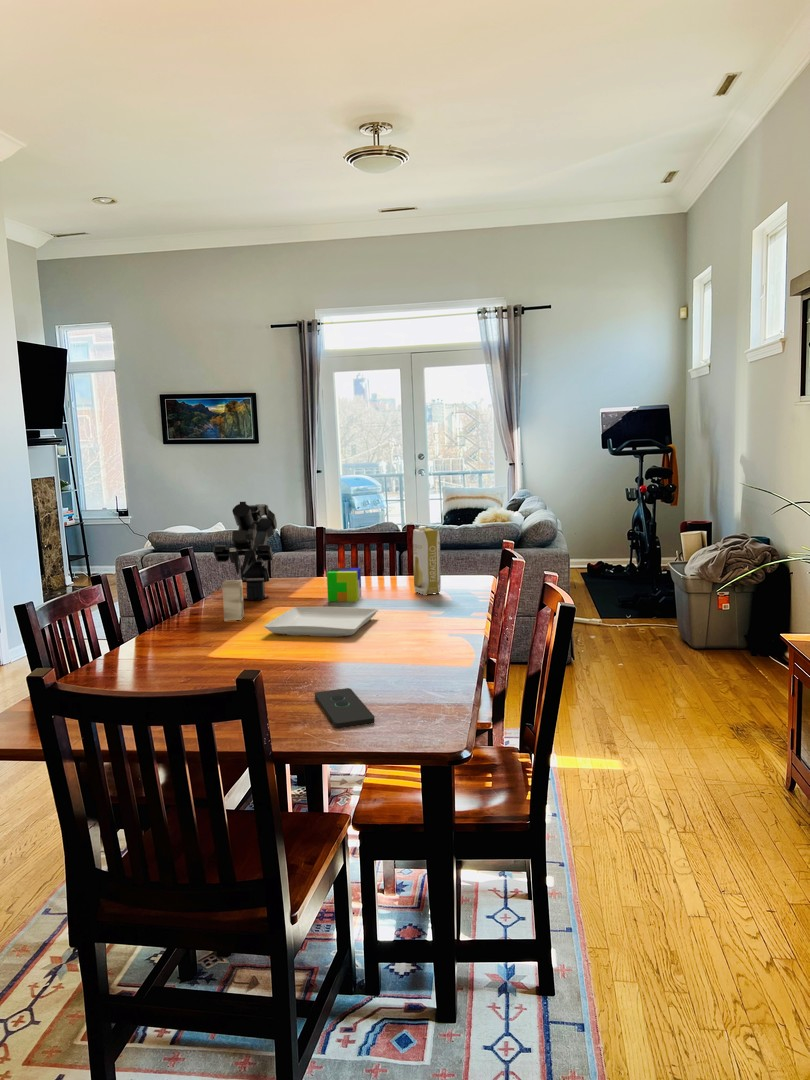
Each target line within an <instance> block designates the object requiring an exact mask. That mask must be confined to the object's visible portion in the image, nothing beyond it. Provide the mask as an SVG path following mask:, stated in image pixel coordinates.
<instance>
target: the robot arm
mask: <svg viewBox="0 0 810 1080" xmlns="http://www.w3.org/2000/svg"><path fill="white" fill-rule="evenodd" d="M232 515H233V518H234V520H235V524H236V526H237V527H238V529H237V530H232V534H231V541H232V542H233V544H232V545H233V547H230V548H229V549H228V547H227V545H226V544H225V545H215V546H214V547H213V549H212V553H213V555H214V557H215V561H216V562H217V563H222V562H225V563H227V562H228V561H229V560H230V563H232V564H234V567H235V571H236V575H237V576H238V575H239V574H240V577H241V580H242V584H243V583H246V587H245V588H246V596H245V597H243V600H244V599H248V600H247V601H256V600H259V601H261V600H260V599H262V600H264V599H263V598H265V599H267V598H266V597H268V598H269V595H266V592H265V591H266V590H265V583H267V582H269V581H270V575H269V571H268V568H267V565H266V563H265V562H267V561H269V562H271V561H273V560H274V559H273V558H274V553H273V548H272V545H270V544H268V541H269V538H270V537H272V536H274V534H275V531H276V530H277V526H278V525H277V524H278V523H277V518H276V514H275V513H273V511H271V510H270V509H269V506H268V504H266V503H265V504H263V503H261V504H250V505H249V504H247V501H239V504H237V505H235V506H234V507H233V508H232ZM263 516H265V517H263ZM240 557H244V558H243V561H242V564H241V559H240Z"/></svg>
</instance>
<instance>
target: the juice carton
mask: <svg viewBox="0 0 810 1080" xmlns="http://www.w3.org/2000/svg"><path fill="white" fill-rule="evenodd" d="M412 532H413V533H412V556H413V559H412V560H413V561H412V562H413V585H414V586H413V587H414V592H415V593H416V592H418V593H417V594H419V593H420V595H422V594H423V595H422V596H427V595H426V594H433V593H439V592H440V593H441V587H442V584H441V583H442V582H441V580H442V579H441V537H440V531H439V529H433V528H429V527H427V526H426V525H420V526H418V528H415V529H413V531H412Z"/></svg>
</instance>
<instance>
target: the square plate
mask: <svg viewBox="0 0 810 1080" xmlns="http://www.w3.org/2000/svg"><path fill="white" fill-rule="evenodd" d="M378 611H379V610H378V609H377V608H361V607H360V608H359V607H346V606H345V607H344V606H343V607H341V606H294V607H293V608H292V607H291V608H290V609H289V610H286V611H285V612H284V613H282V614H280V615H278V616H277V617H276V618H274V619H272V620H271V621H269V622H267V624H264V625H263V628H265V629H266V630H268V631H269V632H270V633H273V634H281V635H285V634H287V635H286V636H299V635H310V637H347V636H352V635H354V634H355V633H356V632H357V631H358V630H359V629H360V628H361V627H362V626H365V624H366V623H368V622H369V621H370V620H371V619H372V618H373V617H375V615H376V614H377V612H378Z"/></svg>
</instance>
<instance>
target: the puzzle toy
mask: <svg viewBox="0 0 810 1080" xmlns="http://www.w3.org/2000/svg"><path fill="white" fill-rule="evenodd" d="M361 574H362V573H361V567H333V568H331V569H330V570H328V572H326V582H327V583H326V584H327V585H326V586H327V602H328V601H357V602H358V601H359V600H360V598H361V597H362V575H361Z"/></svg>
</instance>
